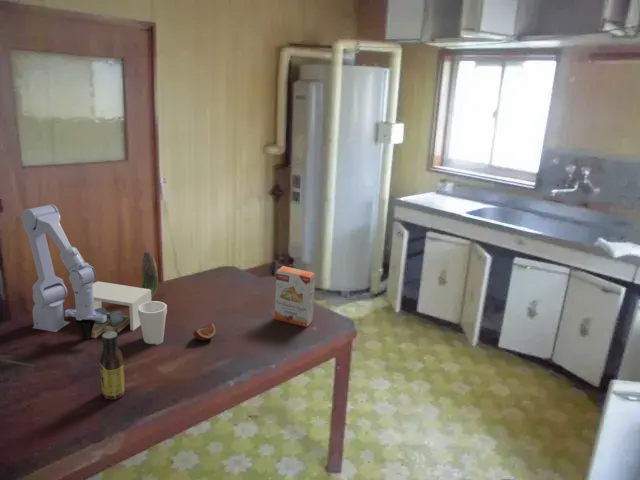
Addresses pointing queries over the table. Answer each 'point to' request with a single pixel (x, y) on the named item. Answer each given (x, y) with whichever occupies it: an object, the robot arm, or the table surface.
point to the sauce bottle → (111, 367)
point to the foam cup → (152, 321)
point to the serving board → (109, 326)
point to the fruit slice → (205, 332)
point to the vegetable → (149, 273)
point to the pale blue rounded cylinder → (101, 311)
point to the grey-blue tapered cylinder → (116, 318)
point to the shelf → (121, 298)
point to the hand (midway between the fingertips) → (87, 337)
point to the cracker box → (294, 296)
